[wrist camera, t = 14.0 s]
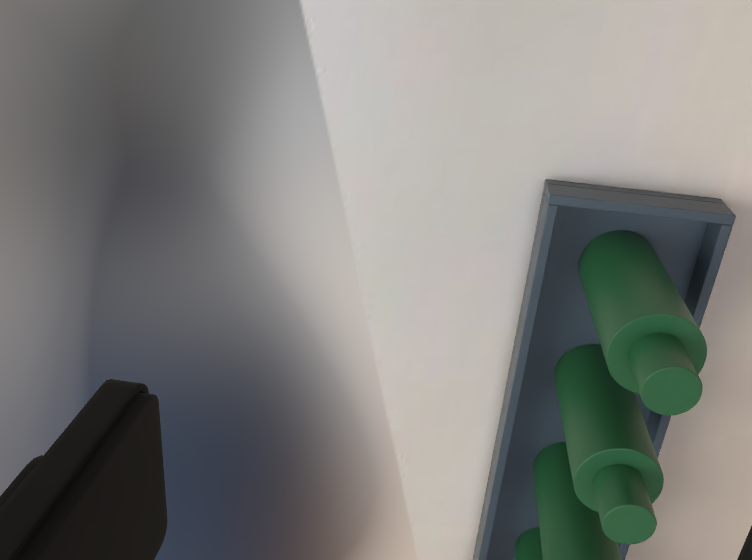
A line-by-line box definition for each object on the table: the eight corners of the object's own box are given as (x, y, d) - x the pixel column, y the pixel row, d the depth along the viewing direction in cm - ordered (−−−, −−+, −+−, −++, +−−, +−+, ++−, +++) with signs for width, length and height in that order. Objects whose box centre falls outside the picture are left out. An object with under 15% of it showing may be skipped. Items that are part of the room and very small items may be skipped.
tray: (545, 179, 42) (549, 194, 40) (720, 198, 42) (736, 215, 39) (468, 581, 58) (468, 610, 55) (595, 601, 57) (601, 632, 54)
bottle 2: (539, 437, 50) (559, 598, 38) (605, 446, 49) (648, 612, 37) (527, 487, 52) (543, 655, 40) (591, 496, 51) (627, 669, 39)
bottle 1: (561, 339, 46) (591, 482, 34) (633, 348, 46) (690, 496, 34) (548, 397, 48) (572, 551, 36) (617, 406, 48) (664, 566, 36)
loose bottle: (586, 225, 43) (630, 340, 30) (665, 234, 42) (741, 354, 30) (571, 293, 45) (607, 426, 33) (646, 302, 44) (710, 440, 32)
